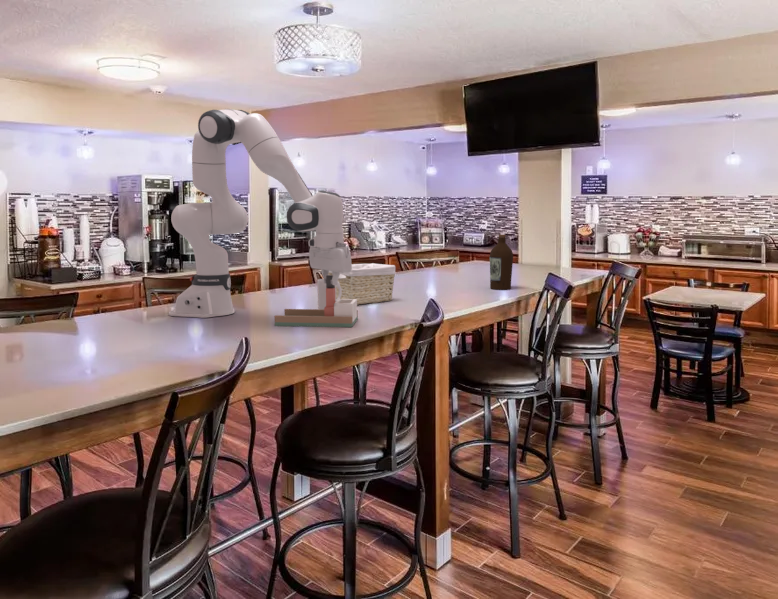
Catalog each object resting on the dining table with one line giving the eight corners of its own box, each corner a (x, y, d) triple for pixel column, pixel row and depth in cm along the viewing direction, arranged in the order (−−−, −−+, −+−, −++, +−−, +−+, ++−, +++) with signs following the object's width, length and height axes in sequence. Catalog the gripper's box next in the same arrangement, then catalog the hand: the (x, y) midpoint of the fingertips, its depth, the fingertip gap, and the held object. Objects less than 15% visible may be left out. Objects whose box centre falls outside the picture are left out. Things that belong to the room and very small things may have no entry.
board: (274, 325, 201) (274, 303, 200) (285, 318, 215) (285, 297, 214) (351, 327, 199) (351, 304, 198) (357, 319, 213) (357, 298, 212)
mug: (325, 315, 220) (324, 281, 218) (313, 313, 225) (313, 279, 223) (347, 312, 227) (347, 279, 225) (335, 309, 232) (335, 277, 230)
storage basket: (371, 296, 266) (371, 262, 263) (397, 301, 254) (397, 264, 251) (325, 302, 250) (325, 265, 248) (351, 307, 238) (350, 268, 236)
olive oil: (500, 286, 298) (501, 233, 294) (516, 289, 289) (518, 234, 285) (484, 288, 292) (485, 234, 288) (500, 290, 283) (502, 235, 279)
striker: (324, 319, 203) (323, 276, 201) (328, 315, 210) (327, 274, 208) (333, 319, 203) (333, 276, 201) (337, 316, 210) (336, 274, 207)
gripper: (356, 243, 196) (356, 286, 198) (321, 240, 212) (322, 280, 214) (339, 243, 192) (340, 288, 195) (305, 240, 208) (306, 282, 211)
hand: (330, 284), depth 205 cm, fingers closed on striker, 3 cm apart
